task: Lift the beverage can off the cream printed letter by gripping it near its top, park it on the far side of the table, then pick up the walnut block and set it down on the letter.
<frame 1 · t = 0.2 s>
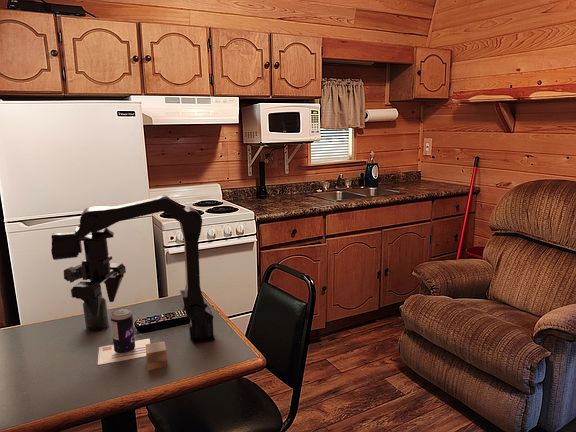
hand: (103, 308, 122), 14 cm above the table, fingers open, 9 cm apart
beverage can: (125, 351, 127), resting on letter
walnut block: (157, 364, 120), on the table
letter: (125, 351, 127), on the table
supplement bottle: (97, 327, 141), on the table
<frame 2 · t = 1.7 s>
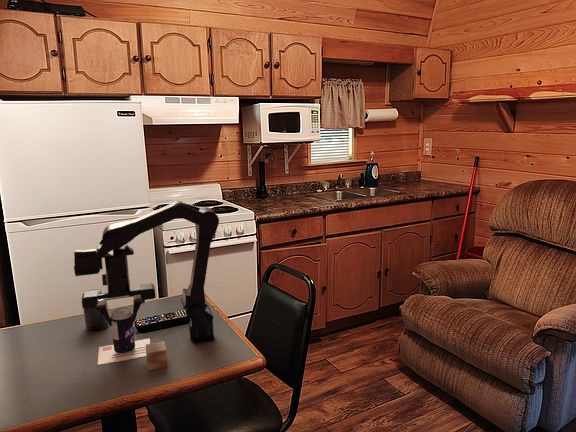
hand: (122, 323, 125), 9 cm above the table, fingers closed on beverage can, 6 cm apart
beverage can: (125, 351, 127), resting on letter, touching gripper
everything else where it was.
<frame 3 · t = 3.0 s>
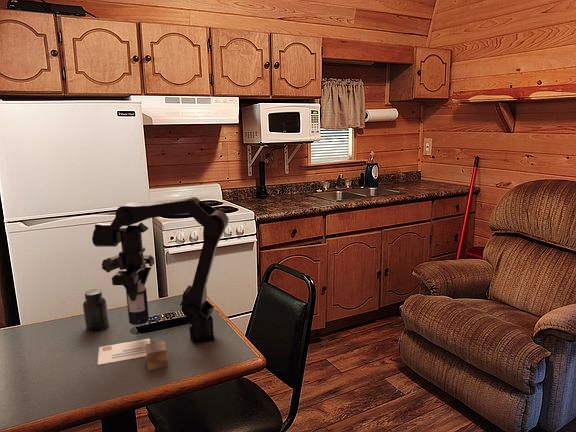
hand: (136, 296, 132), 13 cm above the table, fingers closed on beverage can, 6 cm apart
beverage can: (139, 323, 134), point 4 cm above the table, touching gripper
everything else where it was.
when the fingers open (9 cm above the table, at t = 4.4 s): beverage can stays where it is, on the table.
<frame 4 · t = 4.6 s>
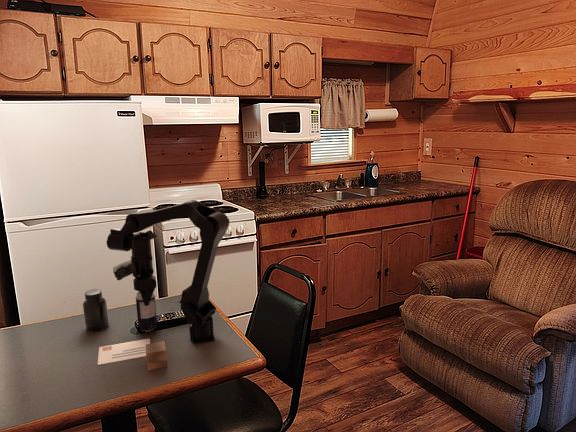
hand: (145, 300, 138), 9 cm above the table, fingers open, 8 cm apart
beverage can: (148, 329, 140), on the table
everything else where it was.
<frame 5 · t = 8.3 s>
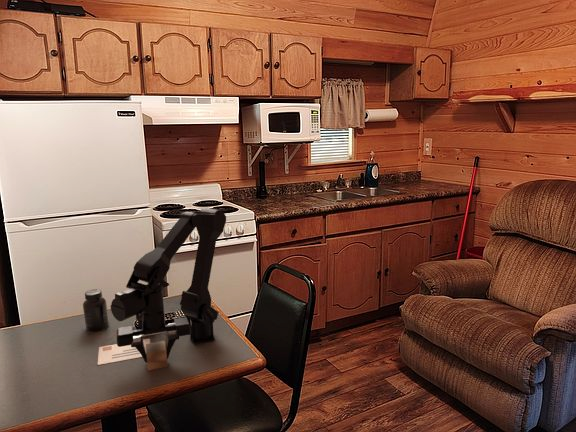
hand: (156, 360, 120), 1 cm above the table, fingers closed on walnut block, 5 cm apart
walnut block: (157, 363, 120), on the table, touching gripper
everything else where it was.
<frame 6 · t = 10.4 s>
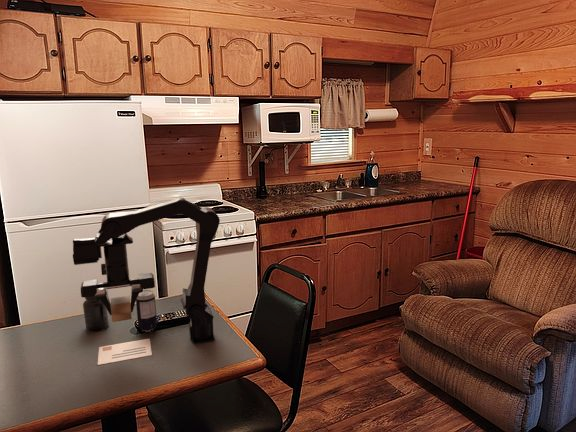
hand: (121, 313, 124), 12 cm above the table, fingers closed on walnut block, 5 cm apart
walnut block: (121, 316, 124), point 11 cm above the table, touching gripper
everything else where it was.
when the fingers open (2 cm above the table, at t = 12.4 s): walnut block drops 1 cm, resting on letter.
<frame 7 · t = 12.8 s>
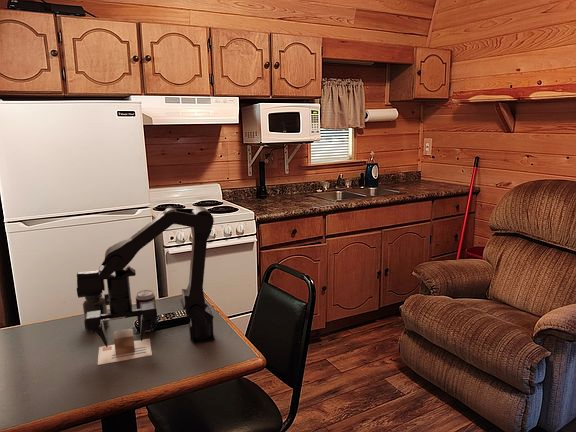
hand: (124, 343, 126), 2 cm above the table, fingers open, 9 cm apart
walnut block: (125, 349, 127), resting on letter
everything else where it was.
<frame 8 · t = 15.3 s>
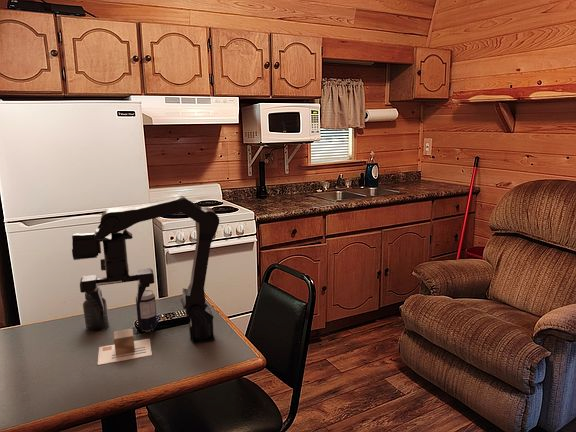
hand: (120, 308, 124), 13 cm above the table, fingers open, 9 cm apart
nothing on the table moved.
at the end: walnut block inside the target area on the letter (0.6 cm from its centre), point 0.2 cm above the letter's base; beverage can touching table; beverage can tilted 0° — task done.
